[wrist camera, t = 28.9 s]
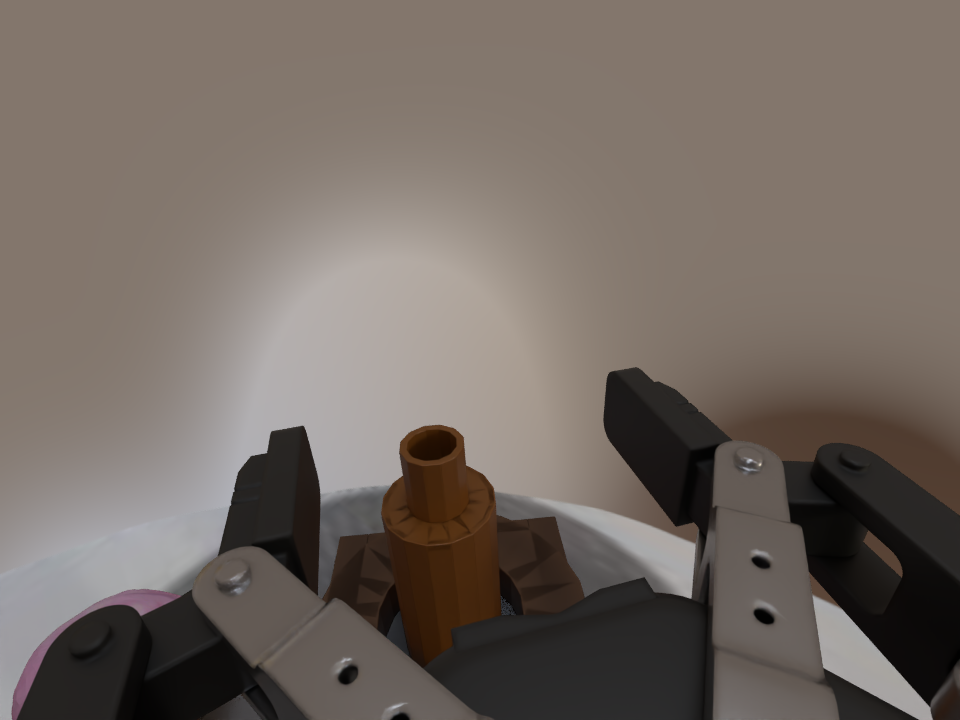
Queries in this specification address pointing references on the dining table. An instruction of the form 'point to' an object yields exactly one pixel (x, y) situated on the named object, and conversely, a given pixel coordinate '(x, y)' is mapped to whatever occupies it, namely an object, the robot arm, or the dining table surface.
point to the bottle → (441, 541)
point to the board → (522, 571)
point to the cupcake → (135, 598)
